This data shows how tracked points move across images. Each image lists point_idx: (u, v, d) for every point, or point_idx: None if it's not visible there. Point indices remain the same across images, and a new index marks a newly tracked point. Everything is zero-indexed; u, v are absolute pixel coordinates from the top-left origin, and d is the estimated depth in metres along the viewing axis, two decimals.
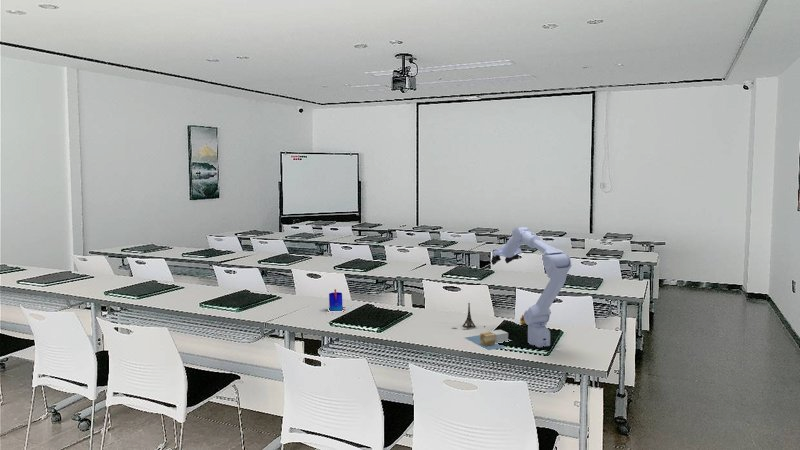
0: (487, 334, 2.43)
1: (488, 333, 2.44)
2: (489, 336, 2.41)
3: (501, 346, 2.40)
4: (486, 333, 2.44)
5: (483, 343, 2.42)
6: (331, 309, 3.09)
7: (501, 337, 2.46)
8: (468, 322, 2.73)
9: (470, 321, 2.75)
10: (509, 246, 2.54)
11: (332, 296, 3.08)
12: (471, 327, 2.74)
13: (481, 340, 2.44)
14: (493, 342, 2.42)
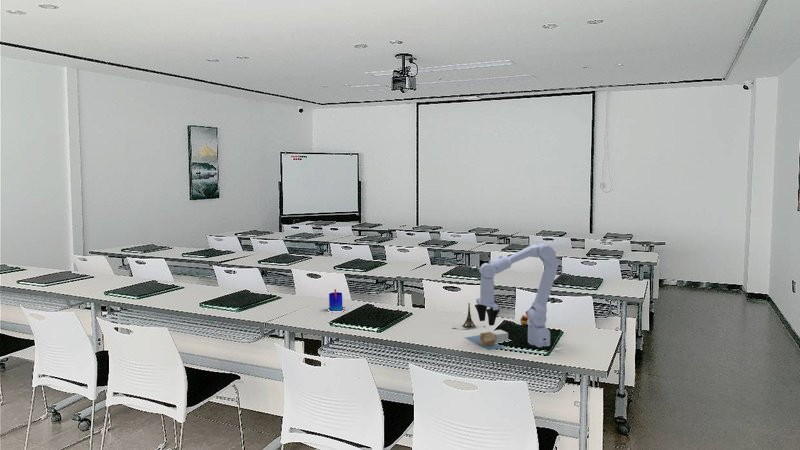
0: (487, 334, 2.43)
1: (488, 333, 2.44)
2: (489, 336, 2.41)
3: (501, 346, 2.40)
4: (486, 333, 2.44)
5: (483, 343, 2.42)
6: (331, 309, 3.09)
7: (501, 337, 2.46)
8: (468, 322, 2.73)
9: (470, 321, 2.75)
10: (490, 290, 2.39)
11: (332, 296, 3.08)
12: (471, 327, 2.73)
13: (481, 340, 2.44)
14: (493, 342, 2.42)
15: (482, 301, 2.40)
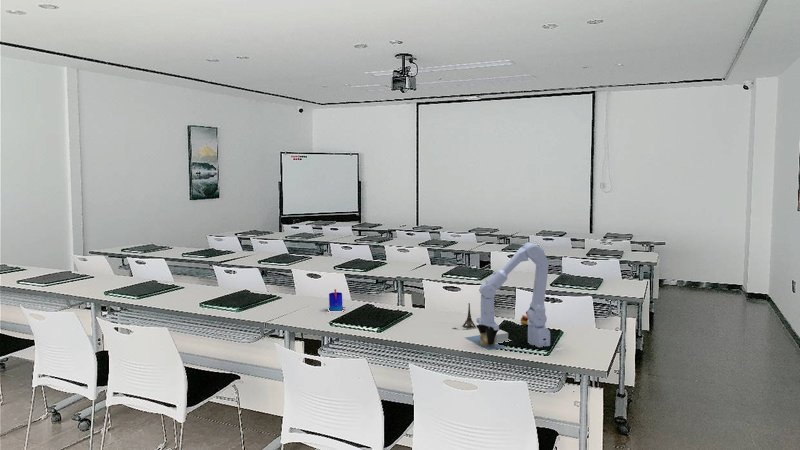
0: None
1: None
2: None
3: (501, 346, 2.40)
4: (486, 333, 2.44)
5: (483, 343, 2.42)
6: (331, 309, 3.09)
7: (501, 337, 2.46)
8: (468, 322, 2.72)
9: (470, 321, 2.75)
10: (490, 310, 2.40)
11: (332, 296, 3.08)
12: (471, 327, 2.73)
13: (481, 340, 2.44)
14: None
15: (483, 321, 2.41)
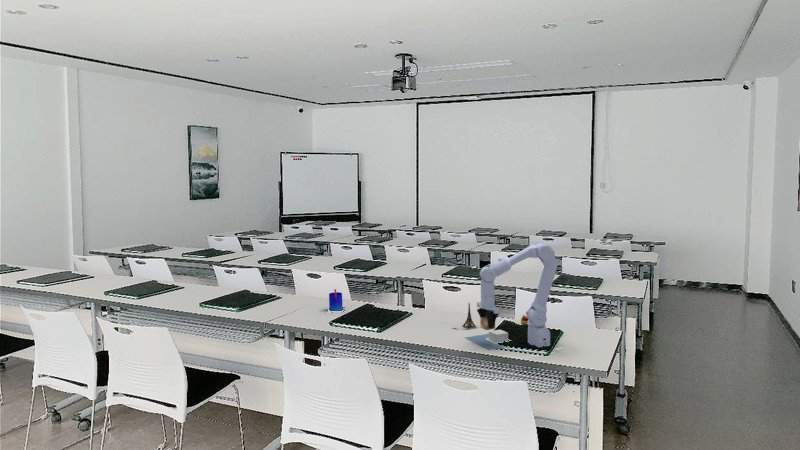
0: None
1: None
2: None
3: (501, 346, 2.40)
4: (486, 317, 2.43)
5: (483, 327, 2.42)
6: (331, 309, 3.09)
7: (501, 337, 2.46)
8: (468, 322, 2.72)
9: (470, 321, 2.74)
10: (491, 293, 2.39)
11: (332, 296, 3.08)
12: (471, 327, 2.73)
13: (481, 324, 2.43)
14: None
15: (483, 305, 2.40)
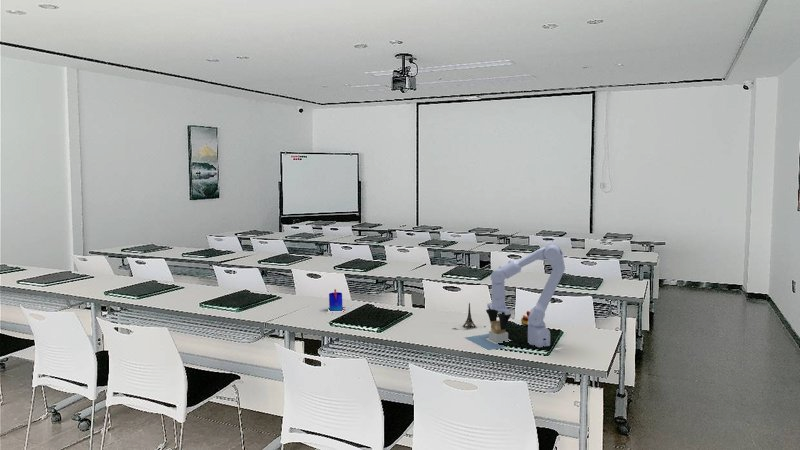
0: (498, 322, 2.48)
1: (499, 321, 2.49)
2: None
3: (501, 346, 2.40)
4: (497, 321, 2.49)
5: (494, 331, 2.48)
6: (331, 309, 3.09)
7: (501, 337, 2.46)
8: (468, 322, 2.72)
9: (470, 321, 2.74)
10: (499, 295, 2.45)
11: (332, 296, 3.08)
12: (471, 327, 2.73)
13: (492, 328, 2.49)
14: (504, 330, 2.47)
15: (494, 306, 2.46)
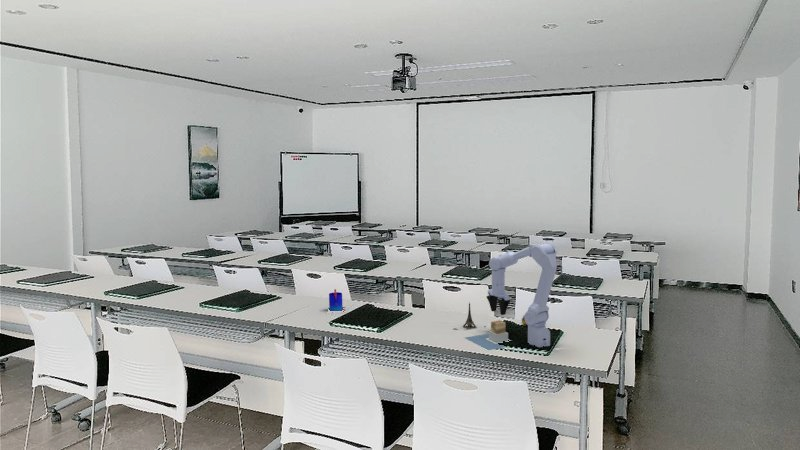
0: (498, 322, 2.48)
1: (499, 321, 2.49)
2: (500, 324, 2.46)
3: (501, 346, 2.40)
4: (497, 321, 2.49)
5: (494, 331, 2.48)
6: (331, 309, 3.09)
7: (501, 337, 2.46)
8: (469, 322, 2.72)
9: (470, 321, 2.74)
10: (496, 281, 2.55)
11: (332, 296, 3.08)
12: (472, 327, 2.73)
13: (492, 328, 2.49)
14: (504, 330, 2.47)
15: (494, 292, 2.56)
